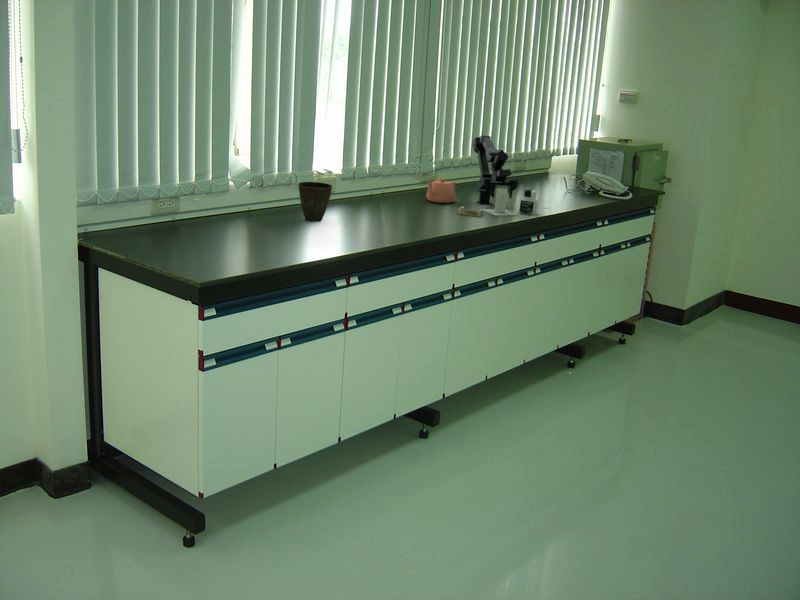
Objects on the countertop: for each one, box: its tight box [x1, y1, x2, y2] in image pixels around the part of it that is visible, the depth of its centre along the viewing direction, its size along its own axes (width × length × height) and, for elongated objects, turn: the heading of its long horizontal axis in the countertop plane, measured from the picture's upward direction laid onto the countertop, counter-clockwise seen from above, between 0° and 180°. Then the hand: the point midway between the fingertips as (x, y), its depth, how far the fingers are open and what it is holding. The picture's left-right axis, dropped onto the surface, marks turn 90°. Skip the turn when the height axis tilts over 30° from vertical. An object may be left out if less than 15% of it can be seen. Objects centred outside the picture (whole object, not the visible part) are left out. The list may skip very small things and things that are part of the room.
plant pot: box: [298, 181, 333, 222], centre depth 380 cm, size 15×15×16 cm
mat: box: [482, 208, 519, 217], centre depth 432 cm, size 14×14×1 cm
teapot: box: [426, 177, 457, 204], centre depth 449 cm, size 22×15×12 cm
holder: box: [457, 206, 484, 217], centre depth 423 cm, size 8×11×2 cm
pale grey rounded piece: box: [494, 187, 508, 213], centre depth 429 cm, size 8×5×12 cm
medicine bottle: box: [518, 189, 539, 216], centre depth 436 cm, size 7×7×12 cm
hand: (502, 197), depth 428 cm, fingers open, 9 cm apart
